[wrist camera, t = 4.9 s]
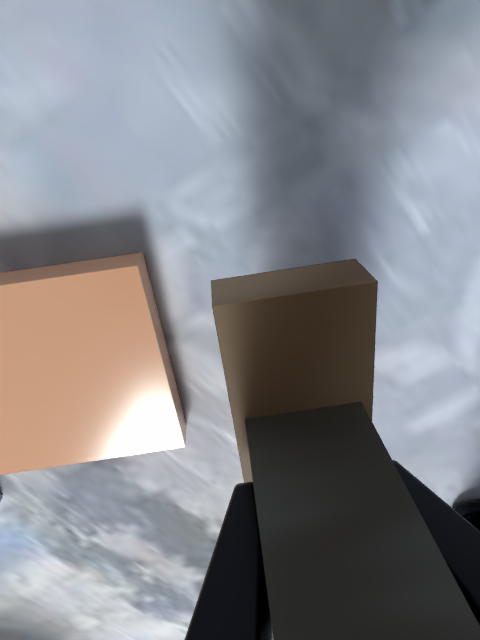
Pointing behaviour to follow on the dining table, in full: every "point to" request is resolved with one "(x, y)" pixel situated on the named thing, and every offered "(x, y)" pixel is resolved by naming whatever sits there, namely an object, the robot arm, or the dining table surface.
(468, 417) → the dining table surface
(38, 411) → the tile
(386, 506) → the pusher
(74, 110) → the dining table surface
